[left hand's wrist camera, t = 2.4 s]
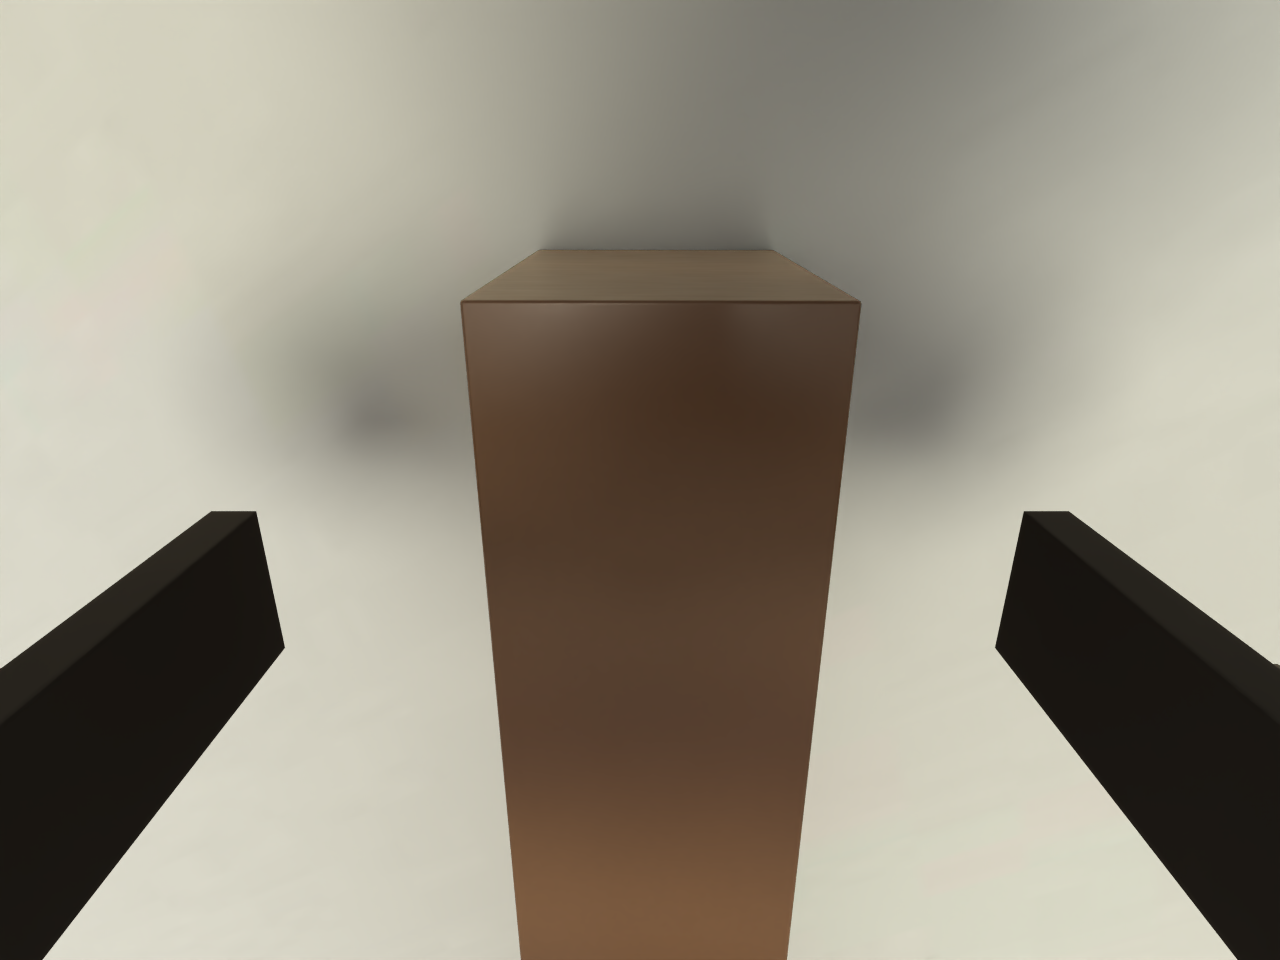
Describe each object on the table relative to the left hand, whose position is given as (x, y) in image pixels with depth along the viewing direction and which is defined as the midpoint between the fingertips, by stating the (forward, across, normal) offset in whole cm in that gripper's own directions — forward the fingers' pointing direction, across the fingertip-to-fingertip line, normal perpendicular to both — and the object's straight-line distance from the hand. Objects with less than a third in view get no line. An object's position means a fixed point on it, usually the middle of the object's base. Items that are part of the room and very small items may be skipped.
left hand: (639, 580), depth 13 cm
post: (+9, 0, -33) cm, 34 cm away
